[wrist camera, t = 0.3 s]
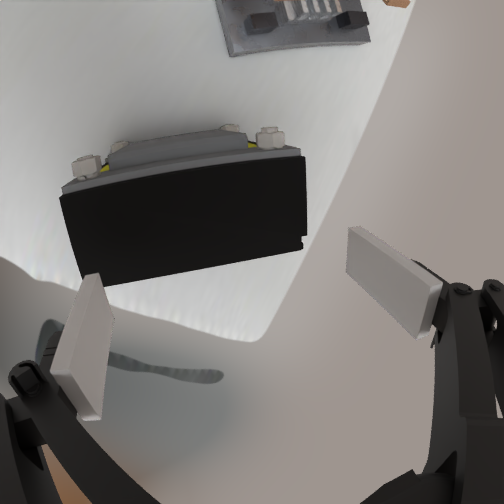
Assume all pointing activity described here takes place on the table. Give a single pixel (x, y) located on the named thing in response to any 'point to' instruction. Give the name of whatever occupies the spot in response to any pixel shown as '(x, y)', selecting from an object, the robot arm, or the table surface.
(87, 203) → the electrical component
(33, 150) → the table surface
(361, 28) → the heatsink base
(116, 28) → the table surface
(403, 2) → the lever
